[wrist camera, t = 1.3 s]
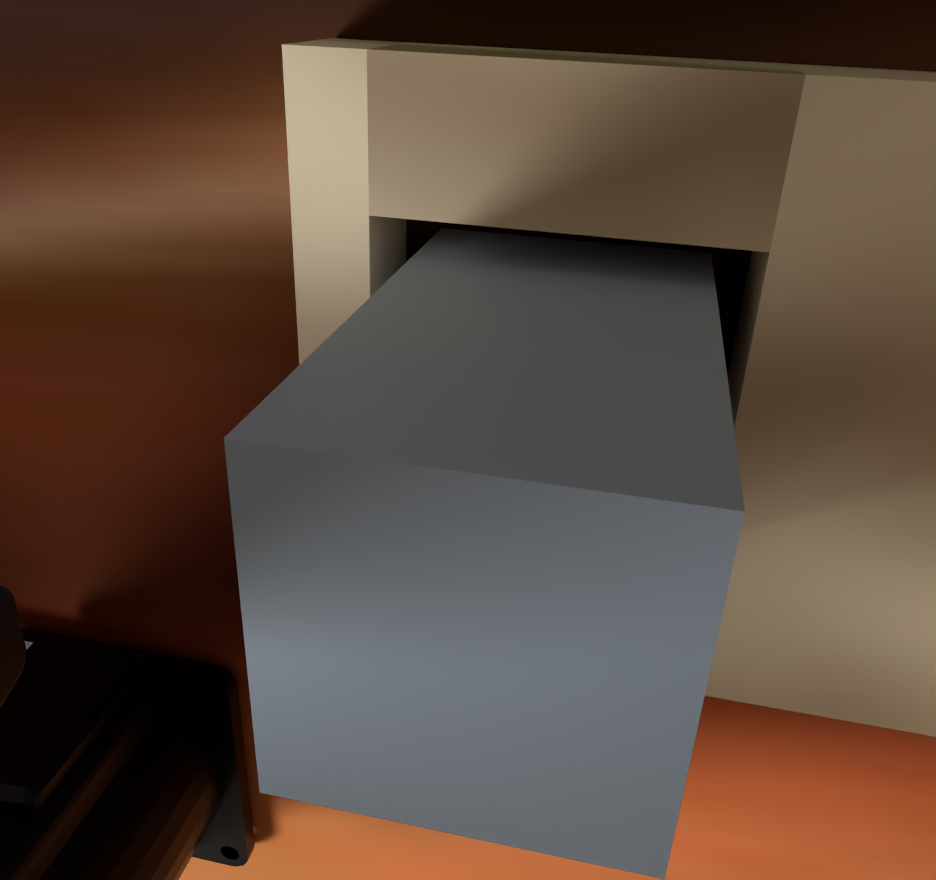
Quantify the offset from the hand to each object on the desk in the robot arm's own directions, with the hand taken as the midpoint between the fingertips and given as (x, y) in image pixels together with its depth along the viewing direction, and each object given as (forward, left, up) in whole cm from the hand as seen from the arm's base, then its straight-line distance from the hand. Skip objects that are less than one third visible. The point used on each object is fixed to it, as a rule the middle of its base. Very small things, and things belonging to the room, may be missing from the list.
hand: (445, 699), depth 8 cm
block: (0, 0, -8) cm, 8 cm away
